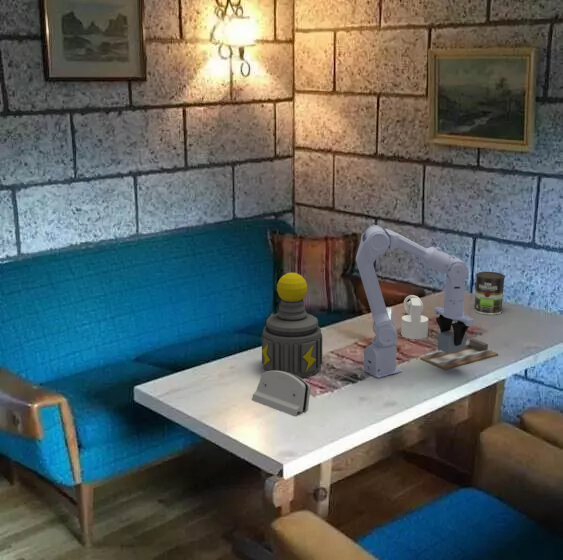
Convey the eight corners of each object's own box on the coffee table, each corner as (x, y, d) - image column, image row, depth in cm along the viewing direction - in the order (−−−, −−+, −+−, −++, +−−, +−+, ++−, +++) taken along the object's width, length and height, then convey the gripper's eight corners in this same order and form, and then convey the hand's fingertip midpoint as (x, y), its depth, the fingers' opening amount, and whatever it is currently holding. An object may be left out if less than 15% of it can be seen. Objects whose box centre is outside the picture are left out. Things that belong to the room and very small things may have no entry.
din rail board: (444, 369, 238) (445, 358, 237) (420, 359, 246) (420, 348, 246) (498, 355, 249) (498, 344, 248) (472, 345, 258) (473, 335, 257)
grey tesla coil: (283, 384, 227) (283, 284, 219) (249, 364, 242) (248, 270, 234) (335, 371, 237) (336, 275, 229) (299, 353, 252) (300, 262, 244)
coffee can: (499, 316, 289) (502, 279, 285) (471, 313, 293) (473, 276, 289) (503, 308, 298) (506, 273, 294) (476, 305, 302) (478, 270, 298)
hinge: (250, 399, 216) (258, 364, 216) (261, 400, 220) (269, 365, 220) (296, 417, 206) (304, 379, 206) (307, 417, 209) (315, 380, 209)
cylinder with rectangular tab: (400, 330, 274) (401, 297, 270) (426, 331, 273) (428, 298, 270) (401, 339, 265) (403, 305, 262) (428, 339, 264) (430, 305, 261)
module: (448, 353, 232) (449, 336, 230) (437, 348, 235) (438, 332, 234) (465, 348, 235) (466, 332, 234) (454, 344, 239) (455, 328, 238)
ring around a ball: (400, 315, 291) (401, 294, 289) (408, 311, 295) (409, 291, 293) (420, 319, 286) (421, 298, 284) (427, 315, 290) (428, 294, 288)
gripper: (481, 302, 227) (479, 347, 231) (447, 291, 239) (444, 333, 243) (464, 306, 224) (461, 351, 227) (429, 294, 236) (427, 337, 239)
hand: (451, 342), depth 235 cm, fingers closed on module, 4 cm apart
